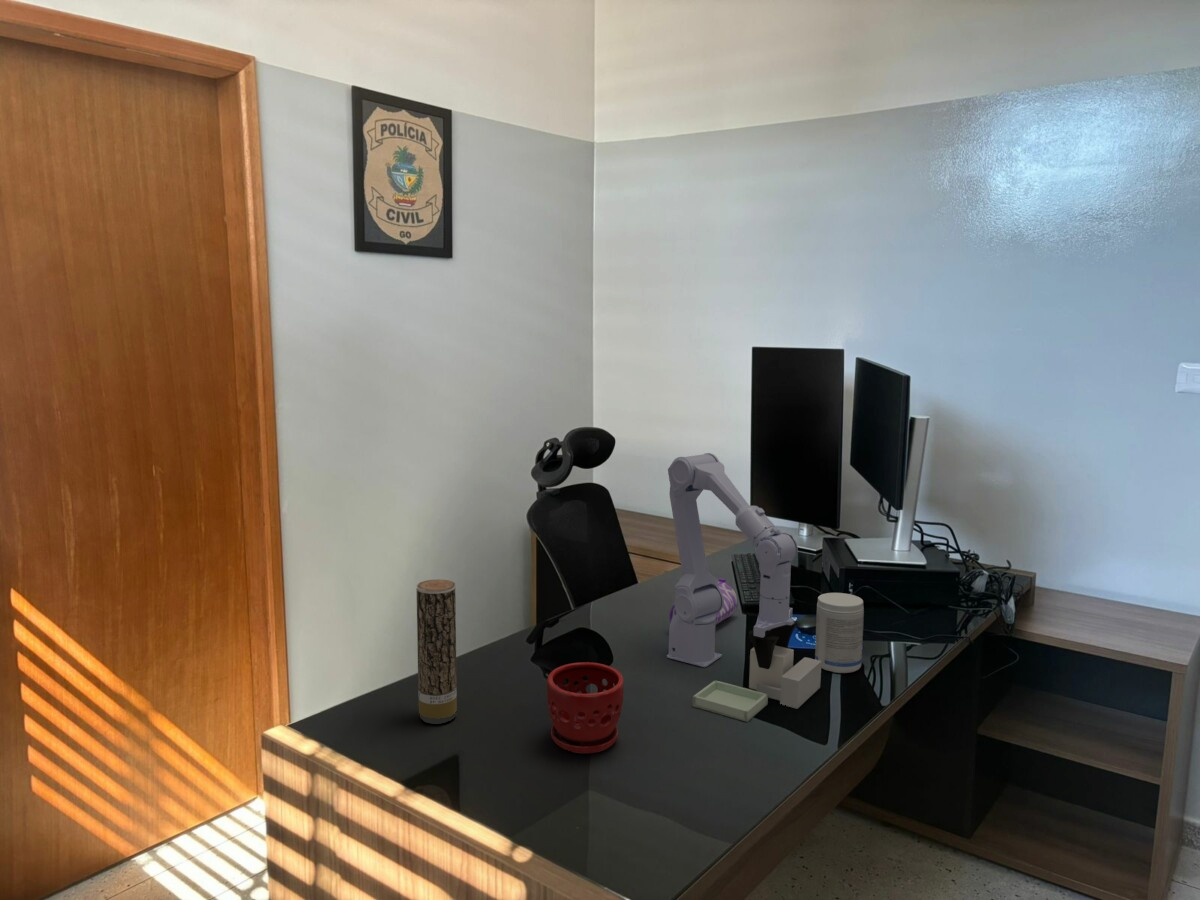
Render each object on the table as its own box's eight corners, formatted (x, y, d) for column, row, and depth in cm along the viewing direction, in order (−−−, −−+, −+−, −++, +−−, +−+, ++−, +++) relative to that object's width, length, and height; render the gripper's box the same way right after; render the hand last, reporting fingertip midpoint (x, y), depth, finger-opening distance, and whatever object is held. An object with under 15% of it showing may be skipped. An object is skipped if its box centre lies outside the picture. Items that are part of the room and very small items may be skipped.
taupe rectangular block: (746, 687, 175) (747, 648, 174) (756, 679, 179) (758, 641, 178) (782, 696, 171) (784, 657, 170) (792, 688, 175) (793, 649, 174)
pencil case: (706, 610, 222) (707, 573, 220) (740, 617, 217) (742, 580, 215) (665, 636, 203) (666, 597, 201) (702, 644, 198) (703, 604, 197)
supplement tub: (870, 668, 185) (874, 601, 183) (839, 678, 180) (843, 609, 178) (835, 653, 193) (838, 589, 191) (804, 662, 188) (807, 596, 186)
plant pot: (532, 738, 153) (532, 672, 151) (592, 718, 161) (593, 655, 159) (576, 769, 143) (576, 699, 141) (638, 746, 150) (639, 679, 149)
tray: (692, 706, 166) (692, 696, 166) (714, 689, 174) (715, 680, 173) (747, 722, 160) (747, 711, 160) (767, 704, 168) (768, 694, 167)
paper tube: (463, 713, 162) (462, 581, 158) (445, 729, 156) (443, 592, 152) (430, 707, 164) (428, 577, 161) (411, 722, 158) (409, 588, 154)
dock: (753, 696, 171) (754, 669, 170) (777, 676, 181) (778, 651, 180) (797, 708, 166) (798, 681, 165) (820, 687, 176) (821, 661, 175)
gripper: (779, 608, 164) (776, 678, 166) (807, 589, 176) (804, 654, 178) (744, 601, 168) (742, 669, 170) (774, 583, 180) (772, 647, 182)
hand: (772, 661), depth 174 cm, fingers open, 7 cm apart
